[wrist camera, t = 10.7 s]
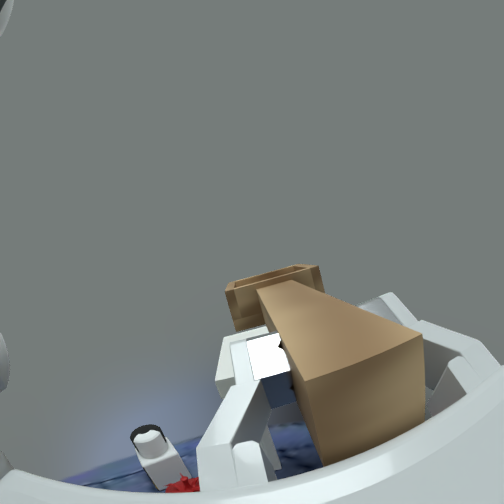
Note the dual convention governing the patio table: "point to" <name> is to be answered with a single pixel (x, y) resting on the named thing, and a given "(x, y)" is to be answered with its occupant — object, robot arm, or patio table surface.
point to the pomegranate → (184, 485)
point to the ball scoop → (337, 360)
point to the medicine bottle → (158, 456)
